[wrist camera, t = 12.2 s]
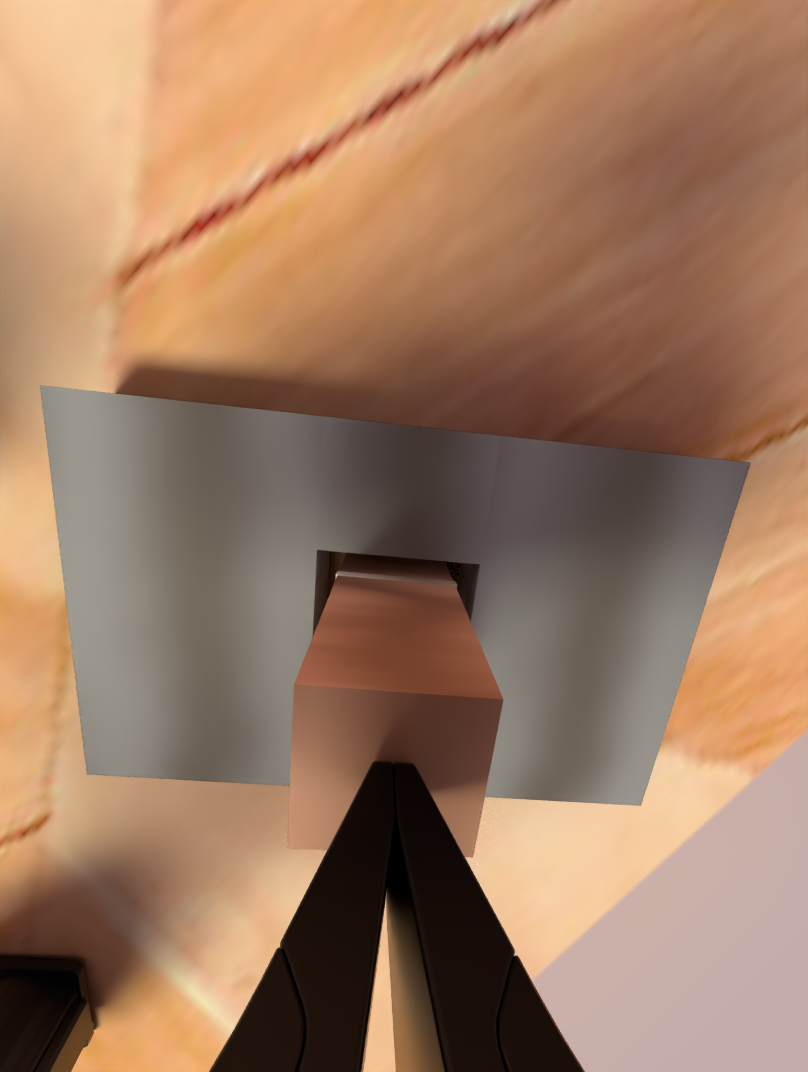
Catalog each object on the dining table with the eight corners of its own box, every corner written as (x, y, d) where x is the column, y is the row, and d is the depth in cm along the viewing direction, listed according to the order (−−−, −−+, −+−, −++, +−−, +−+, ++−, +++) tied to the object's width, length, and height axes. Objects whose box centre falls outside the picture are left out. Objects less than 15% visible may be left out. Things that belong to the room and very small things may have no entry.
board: (137, 718, 18) (87, 774, 15) (112, 396, 14) (39, 385, 11) (602, 748, 19) (640, 805, 16) (682, 458, 15) (750, 462, 12)
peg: (340, 637, 17) (284, 849, 8) (346, 547, 16) (291, 681, 7) (432, 644, 17) (475, 859, 8) (444, 556, 16) (507, 697, 7)
